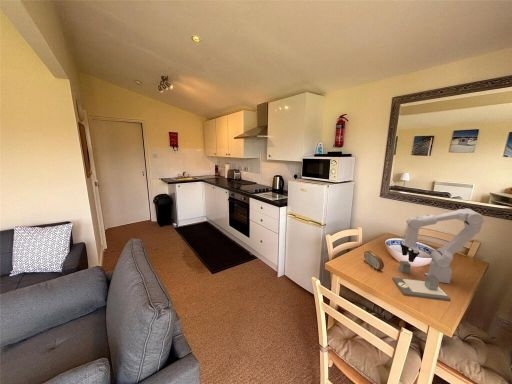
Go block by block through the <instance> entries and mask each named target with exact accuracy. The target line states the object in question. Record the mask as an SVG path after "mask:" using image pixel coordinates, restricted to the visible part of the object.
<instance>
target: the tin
mask: <svg viewBox="0 0 512 384" xmlns="http://www.w3.org/2000/svg"><path fill="white" fill-rule="evenodd" d="M363 257H364V260H365V262H366V263H367V264H368V265H369V266H370V267H372V268H373V269H374V270H376V271H381V270H384V267H385V264H384V261H383V259H382V257H381V256H380V255H378V254H376V253H375V252H374V251H371V250H367V251H364V255H363Z"/></svg>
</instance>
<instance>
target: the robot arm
mask: <svg viewBox="0 0 512 384" xmlns="http://www.w3.org/2000/svg"><path fill="white" fill-rule="evenodd" d="M449 220H451V221H452V220H459V221H463V224H464V227H463V229H462V230H460V231H459V232H458V233H457V234H456V235H455V236H454V237H452V239H451V240H449V241H448V242H447V243H446V244H445V245H444V246H443V247H439V248H437V249H436V250H432V251H431V252H430V253H429V257H430V258H431V260H430V264H429V268H428V272H424V275H425V276H426V275H432V276H435V277H436V278H438V279H439V283H444V284H451V277H452V274H453V269H452V267H451V266H450V265H451V262H452V261H453V260H454V255H455V254H456V253H457V252H458V251H460V250H461V249H462V247H464V246H465V245H467V243H468V242H470V241H471V240H472V239H473V238H475V236H477V235H478V234H479V233H480V232H481V230H482V227H483V226H482V225H483V224H484V223H485V218H484V216H483V214H481V213H480V212H476V211H474V210H473V209H471V208H466V207H465V208H463V209H462V208H459V209H456V210H454V211H449V212H445V213H440V214H437V215H434V214H432V213H426V214H425V215H421V216H419V215H417V216H416V217H415V216H410V217H409V218H407V220H406V224H407V226H406V227H407V228H406V230H405V237H404V238H402V239H401V242H400V243H399V245H400V247H401V253H402V256H405V257H406V256H408V257H407V258H408V263H413V262H415V260H416V258H417V257H418V256H419V255H420V253H421V252H420V250H419V249H418V246H417V244H418V243H417V242H418V237H419V231H420V229H421V228H422V227H426V226H431V225H436V224H437V223H438V222H442V221H449Z"/></svg>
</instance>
